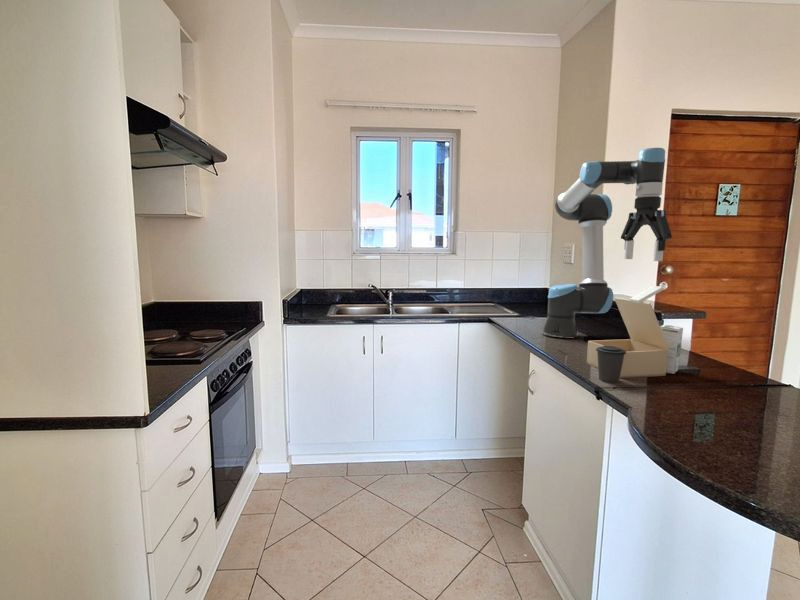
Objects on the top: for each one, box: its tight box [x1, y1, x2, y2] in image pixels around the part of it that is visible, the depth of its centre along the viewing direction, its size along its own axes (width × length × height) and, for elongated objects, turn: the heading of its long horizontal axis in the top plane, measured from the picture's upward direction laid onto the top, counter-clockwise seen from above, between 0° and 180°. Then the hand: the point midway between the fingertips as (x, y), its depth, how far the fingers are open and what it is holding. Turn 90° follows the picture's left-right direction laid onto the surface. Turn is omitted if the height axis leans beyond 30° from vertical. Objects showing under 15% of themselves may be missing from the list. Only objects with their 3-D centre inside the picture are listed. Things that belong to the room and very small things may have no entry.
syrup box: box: [660, 324, 684, 375], centre depth 127 cm, size 6×6×14 cm
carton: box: [586, 338, 668, 379], centre depth 129 cm, size 16×16×8 cm
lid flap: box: [613, 285, 669, 350], centre depth 128 cm, size 15×17×9 cm
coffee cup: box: [596, 346, 626, 384], centre depth 118 cm, size 8×8×10 cm
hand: (642, 260), depth 137 cm, fingers open, 13 cm apart
